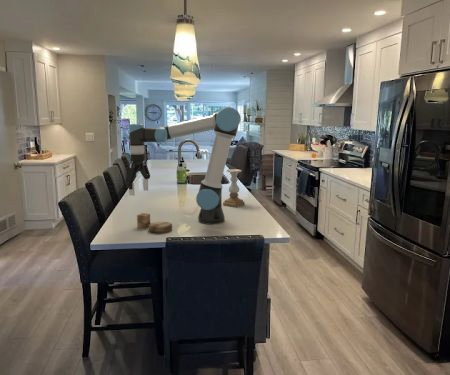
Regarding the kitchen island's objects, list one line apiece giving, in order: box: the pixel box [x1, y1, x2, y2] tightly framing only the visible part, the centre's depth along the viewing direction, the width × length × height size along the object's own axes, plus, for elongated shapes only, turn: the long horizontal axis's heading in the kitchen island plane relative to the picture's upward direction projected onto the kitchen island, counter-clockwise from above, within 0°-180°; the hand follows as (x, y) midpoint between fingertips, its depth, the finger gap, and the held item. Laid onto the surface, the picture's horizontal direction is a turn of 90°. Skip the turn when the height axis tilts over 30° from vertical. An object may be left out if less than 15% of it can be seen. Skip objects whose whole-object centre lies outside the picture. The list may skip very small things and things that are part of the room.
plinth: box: [148, 221, 173, 235], centre depth 194 cm, size 12×12×3 cm
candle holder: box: [222, 168, 246, 208], centre depth 249 cm, size 11×11×24 cm
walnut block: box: [136, 212, 151, 230], centre depth 199 cm, size 5×5×7 cm
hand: (139, 192), depth 199 cm, fingers open, 13 cm apart
